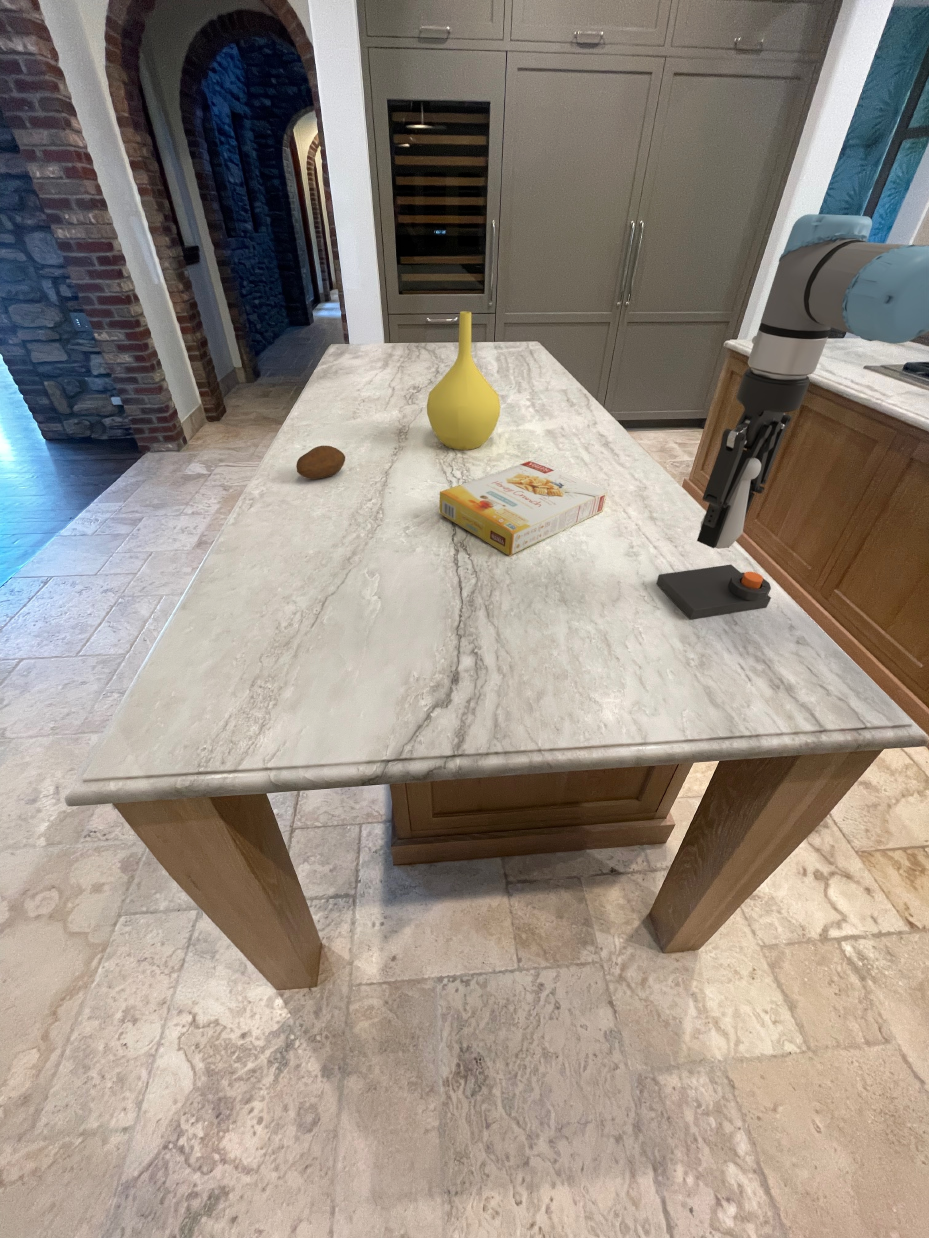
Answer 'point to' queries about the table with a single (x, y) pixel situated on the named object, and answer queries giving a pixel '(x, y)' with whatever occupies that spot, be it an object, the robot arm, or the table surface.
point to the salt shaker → (738, 506)
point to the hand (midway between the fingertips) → (718, 536)
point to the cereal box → (521, 504)
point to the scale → (712, 591)
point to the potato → (320, 462)
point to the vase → (463, 399)
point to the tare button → (752, 580)
